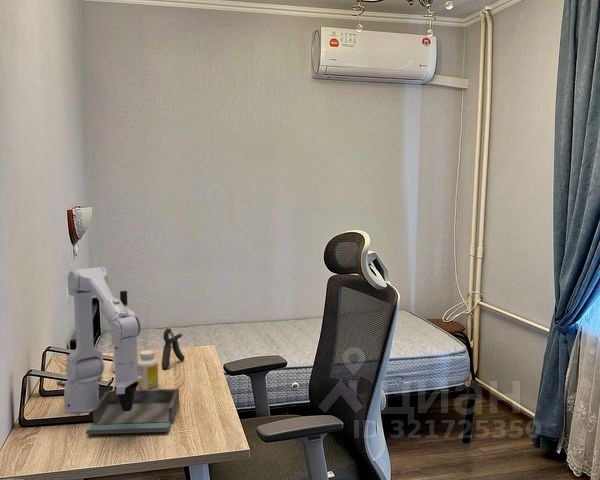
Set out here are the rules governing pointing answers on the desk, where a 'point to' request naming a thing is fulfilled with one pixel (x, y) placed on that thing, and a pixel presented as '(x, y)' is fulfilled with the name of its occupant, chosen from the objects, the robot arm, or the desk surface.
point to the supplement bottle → (147, 370)
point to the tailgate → (128, 428)
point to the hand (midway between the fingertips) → (127, 410)
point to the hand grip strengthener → (168, 348)
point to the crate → (138, 408)
